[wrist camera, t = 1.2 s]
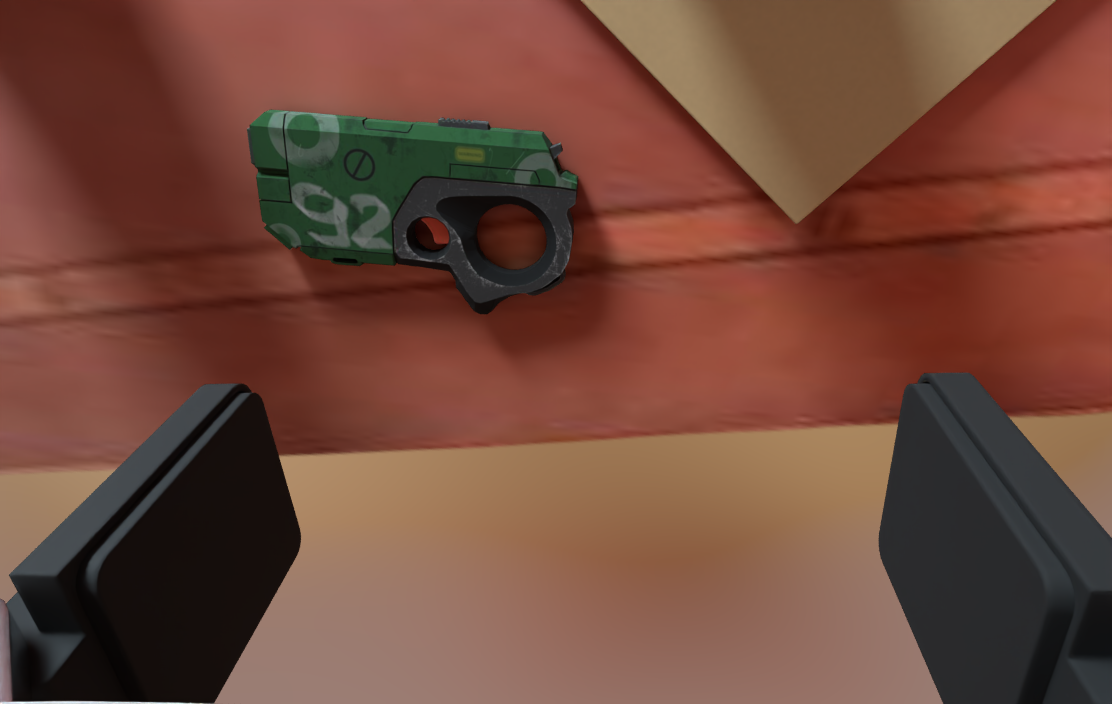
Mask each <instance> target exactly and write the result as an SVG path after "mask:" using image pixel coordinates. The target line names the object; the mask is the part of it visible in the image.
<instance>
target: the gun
mask: <svg viewBox="0 0 1112 704" xmlns="http://www.w3.org/2000/svg"><path fill="white" fill-rule="evenodd" d="M247 133H248V140H249V148H250V155H251V163H252V164H253V165H255V167H256V168H257V169H258V174H257V177H256V179H257V186H258V194H259V199H261V200H260V201H259V202H260V209H261V216H262V221H263V222H264V223H265V224H267V225H266V226H265V227H264V228H265V229H266V230H267V231H268V232H269V233H271V234H272V235H273V236H274V237H275V238H277V239H278V240H279V241H280V242H281V243H282V244H284V245H285V246H286V247H287V248H288V249H289V250H290V249H291V248H293V247H294V248H295V249H297V248H298V247H301V249H300V250H301V251H302V252H303V253H305V254H306V255H308V256H309V257H310V258H315V259H321V260H330V261H331V262H332V263H334V264H339V265H354V266H361V265H363V264H364V263H371V264H382V265H393V266H395V264H396V263H398V264H402V265H409V266H418V267H425V268H431V269H438V270H445V271H449V272H450V273H451V274H452V276H453V277H454V279H455V281H456V288H457V289H458V290H459V292H460V293H461V294H462V295H463V297H464V298H465V300H466V301H467V302H468V304H469V305H470V307H471V308H472V309H473V310H474V311H475V312H477V313H479V314H488V313H489V312H491V311H492V310H493V309H494V308H495V307H496V306H497V304H498V303H499V302H501V301H503V300H504V299H506V298H508V297H510V296H512V295H515V294H519V293H526V294H528V295H538V294H541V293H544V292H546V291H549V290H551V289H552V288H554V287H556V286H557V285H559V284H560V283H562V282H563V280H564V279H565V275H566V272H565V267H566V265H567V263H568V261H569V257H570V252H571V246H572V240H573V233H574V226H573V218H572V215H571V212H570V209H569V208H571V207H572V206H573V205H574V204H575V202H576V198H577V187H578V184H577V183H578V176H577V175H575V174H572V173H571V172H569V171H568V170H564V171H563V170H561V167H560V165H559V162H558V159H557V156H558V155H559V154H560V153H561V152H562V150H563V148H562V145H561V143H558V144H555V145H552V143H551V142H550V141H549V139H548V138H547V136H546V135H545V134H544V132H539V131H527V130H514V129H502V128H490V126H489V123H488V122H486V121H474V120H473V122H471V121H470V120H468V121H465V120H462V121H460V119H457V120H455V119H452V120H450V119H449V118H447V120H445V119H444V118H440V119H438V123H428V122H403V121H391V120H378V119H367V118H366V117H354V116H341V115H329V114H317V113H304V112H290V111H280V110H269V111H266V112H264V113H263V114H262V115H261V116H260V117H258V118H257V119H256V120H255V121H254V122H253V123H252V124H251V125H250V128H248V129H247ZM503 204H513V205H519V206H521V207H524V208H526V209H528V210H529V211H531V212H532V213H533V214H535V215H536V216H537V217H538V219H539V220H540V221H541V223H542V225H543V227H544V229H545V232H546V237H547V245H546V250H545V252H544V254H543V255H542V257H541V258H540V259H539V260H538V261H537V262H536V263H534V264H533V265H531V266H529V267H527V268H525V269H519V270H509V269H504V268H501V267H499V266H497V265H495V264H493V263H492V262H491V261H489V260H488V259H487V258H486V257H485V255H484V254H483V252H482V251H481V249H480V247H479V244H478V240H477V225H478V222H479V219H480V218H481V217H482V215H483V214H484V213H485V212H487V211H488V210H489V209H491V208H493V207H496V206H498V205H503ZM419 220H422V221H423V222H424V223H425V224H426V225H427V226H428V228H429V229H430V231H431V232H432V234H433V238H434V242H435V243H437V244H448V245H447V246H445V247H444V248H442V249H438V250H432V249H428V248H426V247H425V246H423V245H422V244H420V242H419V241H418V239H417V238H416V234H415V226H416V223H417V221H419Z"/></svg>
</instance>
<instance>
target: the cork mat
mask: <svg viewBox="0 0 1112 704" xmlns="http://www.w3.org/2000/svg"><path fill="white" fill-rule="evenodd" d="M1055 1H1056V0H581V2H582V3H583V4H584V5H585V6H586V7H587V8H588V9H589V10H590V11H591V12H592V13H593V14H594V15H595V16H596V17H597V18H598V19H599V20H600V21H601V22H602V23H603V24H604V25H605V26H606V28H607V29H608V30H609V31H610V32H611V33H612V34H613V35H614V36H615V37H616V38H617V39H618V40H619V41H620V42H621V43H622V44H623V45H624V46H625V47H626V48H627V49H628V50H629V51H630V52H631V53H632V55H633V56H634V57H635V58H636V59H637V60H638V61H639V62H640V63H641V64H642V65H643V66H644V67H645V68H646V69H647V70H648V71H649V72H650V73H651V74H652V75H653V76H654V77H655V78H656V79H657V81H658V82H659V83H660V84H661V85H662V86H663V87H664V88H665V89H666V90H667V91H668V92H669V93H670V94H671V95H672V96H673V97H674V98H675V99H676V100H677V101H678V102H679V103H680V104H681V105H682V107H683V108H684V109H685V110H686V111H687V112H688V113H689V114H690V115H691V116H692V117H693V118H694V119H695V120H696V121H697V122H698V123H699V124H700V125H701V126H702V127H703V128H704V129H705V130H706V131H707V132H708V134H709V135H710V136H711V137H712V138H713V139H714V140H715V141H716V142H717V143H718V144H719V145H720V146H721V147H722V148H723V149H724V150H725V151H726V152H727V153H728V154H729V155H730V156H731V157H732V158H733V160H734V161H735V162H736V163H737V164H738V165H739V166H740V167H741V168H742V169H743V170H744V171H745V172H746V173H747V174H748V175H749V176H750V177H751V178H752V179H753V180H754V181H755V182H756V183H757V184H758V186H759V187H760V188H761V189H762V190H763V191H764V192H765V193H766V194H767V195H768V196H769V197H770V198H771V199H772V200H773V201H774V202H775V203H776V204H777V205H778V206H779V207H780V208H781V209H782V210H783V211H784V213H785V214H786V215H787V216H788V217H789V218H790V219H791V220H792V221H793V222H794V223H795V224H798V223H799V222H800V221H801V220H802V219H804V218H805V217H806V216H807V215H808V214H809V213H811V212H812V211H813V210H814V209H815V208H816V207H818V206H819V205H820V204H821V203H822V202H823V201H825V200H826V199H827V198H828V197H829V196H830V195H831V194H833V193H834V192H835V191H836V190H837V189H838V188H840V187H841V186H842V185H843V184H844V183H845V182H847V181H848V180H849V179H850V178H851V177H852V176H853V175H855V174H856V173H857V172H858V171H859V170H860V169H862V168H863V167H864V166H865V165H866V164H867V163H869V162H870V161H871V160H872V159H873V158H874V157H876V156H877V155H878V154H879V153H880V152H881V151H882V150H884V149H885V148H886V147H887V146H888V145H889V144H891V143H892V142H893V141H894V140H895V139H896V138H898V137H899V136H900V135H901V134H902V133H903V132H905V131H906V130H907V129H908V128H909V127H910V126H911V125H913V124H914V123H915V122H916V121H917V120H918V119H920V118H921V117H922V116H923V115H924V114H925V113H927V112H928V111H929V110H930V109H931V108H932V107H933V106H935V105H936V104H937V103H938V102H939V101H940V100H942V99H943V98H944V97H945V96H946V95H947V94H949V93H950V92H951V91H952V90H953V89H954V88H956V87H957V86H958V85H959V84H960V83H961V82H962V81H964V80H965V79H966V78H967V77H968V76H969V75H971V74H972V73H973V72H974V71H975V70H976V69H978V68H979V67H980V66H981V65H982V64H983V63H985V62H986V61H987V60H988V59H989V58H990V57H991V56H993V55H994V54H995V53H996V52H997V51H998V50H1000V49H1001V48H1002V47H1003V46H1004V45H1005V44H1007V43H1008V42H1009V41H1010V40H1011V39H1012V38H1014V37H1015V36H1016V35H1017V34H1018V33H1019V32H1020V31H1022V30H1023V29H1024V28H1025V27H1026V26H1027V25H1029V24H1030V23H1031V22H1032V21H1033V20H1034V19H1036V18H1037V17H1038V16H1039V15H1040V14H1041V13H1042V12H1044V11H1045V10H1046V9H1047V8H1048V7H1049V6H1051V5H1052V4H1053V3H1054V2H1055Z"/></svg>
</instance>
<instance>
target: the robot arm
mask: <svg viewBox="0 0 1112 704" xmlns="http://www.w3.org/2000/svg"><path fill="white" fill-rule="evenodd" d="M300 543H301V533H300V528H299V525H298V521H297V518H296V514H295V511H294V507H293V504H292V500H291V497H290V493H289V490H288V486H287V483H286V479H285V476H284V472H283V469H282V466H281V462H280V459H279V455H278V452H277V448H276V445H275V441H274V438H273V434H272V431H271V428H270V424H269V421H268V417H267V414H266V410H265V407H264V403H263V401H262V398H261V397H260V396H259V394H257V393H252V392H251V390H250V389H249V387H248V386H247V385H245V384H205V385H203V386H202V387H200V388H199V389H198V390H197V391H196V392H195V393H194V394H193V395H192V396H191V397H190V398H189V399H188V400H187V401H186V402H185V403H184V404H183V405H182V406H181V407H180V408H179V409H178V410H177V411H176V412H174V413H173V414H172V415H171V416H170V417H169V418H168V419H167V420H166V421H165V422H164V423H163V424H162V425H161V426H160V427H159V428H158V429H157V430H156V431H155V432H154V433H153V434H152V435H151V436H150V437H149V438H148V439H147V440H146V441H145V442H144V443H143V444H142V445H141V446H140V447H139V448H138V449H137V450H136V451H135V452H134V453H133V454H132V455H131V456H130V457H129V458H128V459H127V460H126V461H125V462H124V463H122V464H121V465H120V466H119V467H118V468H117V469H116V470H115V471H114V472H113V473H112V474H111V475H110V476H109V477H108V478H107V479H106V480H105V481H104V482H103V483H102V484H101V485H100V486H99V487H98V488H97V489H96V490H95V491H94V492H93V493H92V494H91V495H90V496H89V497H88V498H87V499H86V500H85V501H84V502H83V503H82V504H81V505H80V506H79V507H78V508H77V509H76V510H75V511H74V512H73V513H72V514H71V515H70V516H68V518H67V519H65V520H64V521H63V522H62V523H61V524H60V525H59V526H58V527H57V528H56V529H55V530H54V531H53V532H52V533H51V534H50V535H49V536H48V537H47V538H46V539H45V540H44V541H43V542H42V543H41V544H40V545H39V546H38V547H37V548H36V549H35V550H34V551H33V552H32V553H31V554H30V555H29V556H28V557H27V558H26V559H25V560H24V561H23V562H22V563H21V564H20V565H19V566H18V567H16V568H15V569H14V570H13V572H11V573H10V574H9V576H10V578H11V580H12V582H13V584H14V585H15V587H16V589H17V591H18V592H17V593H16V594H15V595H14V596H13V597H12V598H11V599H10V600H9V601H8V602H7V603H5V601H4V600H2V599H0V704H214V702H215V700H216V699H217V697H218V695H219V693H220V691H221V690H222V688H223V686H224V684H225V682H226V681H227V679H228V677H229V675H230V674H231V672H232V670H233V668H234V667H235V665H236V663H237V661H238V660H239V658H240V656H241V654H242V652H243V651H244V649H245V647H246V645H247V644H248V642H249V640H250V638H251V636H252V635H253V633H254V631H255V629H256V628H257V626H258V624H259V622H260V620H261V619H262V617H263V615H264V613H265V612H266V610H267V608H268V606H269V604H270V603H271V601H272V599H273V597H274V595H275V594H276V592H277V590H278V588H279V586H280V585H281V583H282V581H283V579H284V578H285V576H286V574H287V572H288V571H289V569H290V567H291V565H292V564H293V562H294V560H295V558H296V556H297V554H298V552H299V548H300ZM879 551H880V556H881V559H882V562H883V565H884V567H885V569H886V571H887V574H888V576H889V579H890V581H891V583H892V586H893V588H894V590H895V593H896V595H897V597H898V599H899V602H900V604H901V606H902V609H903V611H904V613H905V616H906V618H907V620H908V623H909V625H910V627H911V630H912V632H913V634H914V637H915V639H916V641H917V643H918V646H919V648H920V650H921V653H922V655H923V658H924V660H925V662H926V665H927V667H928V669H929V672H930V674H931V676H932V679H933V681H934V683H935V685H936V688H937V690H938V692H939V695H940V697H941V699H942V702H943V704H1112V538H1111V537H1110V536H1109V535H1108V533H1107V532H1106V531H1105V530H1104V529H1103V528H1102V526H1101V525H1100V524H1099V523H1098V522H1097V520H1096V519H1095V518H1094V517H1093V516H1092V515H1091V513H1090V512H1089V511H1088V510H1087V509H1086V508H1085V506H1084V505H1083V504H1082V503H1081V502H1080V500H1079V499H1078V498H1077V497H1076V496H1075V495H1074V493H1073V492H1072V491H1071V490H1070V489H1069V488H1068V487H1067V485H1066V484H1065V483H1064V482H1063V481H1062V479H1061V478H1060V477H1059V476H1058V475H1057V473H1056V472H1055V471H1054V470H1053V469H1052V468H1051V466H1050V465H1049V464H1048V463H1047V462H1046V461H1045V460H1044V458H1043V457H1042V456H1041V455H1040V453H1039V452H1038V451H1037V450H1036V449H1035V448H1034V446H1033V445H1032V444H1031V443H1030V442H1029V441H1028V439H1027V438H1026V437H1025V436H1024V435H1023V433H1022V432H1021V431H1020V430H1019V429H1018V428H1017V426H1016V425H1015V424H1014V423H1013V422H1012V421H1011V419H1010V418H1009V417H1008V416H1007V415H1006V413H1005V412H1004V411H1003V410H1002V409H1001V408H1000V406H999V405H998V404H997V403H996V402H995V401H994V399H993V398H992V397H991V396H990V395H989V393H988V392H987V391H986V390H985V389H984V388H983V386H982V385H981V384H980V383H979V382H978V381H977V379H976V378H975V377H974V376H973V375H972V374H970V373H924V374H923V375H921V377H920V379H919V380H918V383H917V384H908V385H907V386H906V388H905V390H904V394H903V400H902V405H901V411H900V417H899V422H898V429H897V434H896V440H895V446H894V451H893V457H892V462H891V468H890V474H889V480H888V485H887V491H886V497H885V502H884V508H883V514H882V520H881V526H880V531H879Z"/></svg>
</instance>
